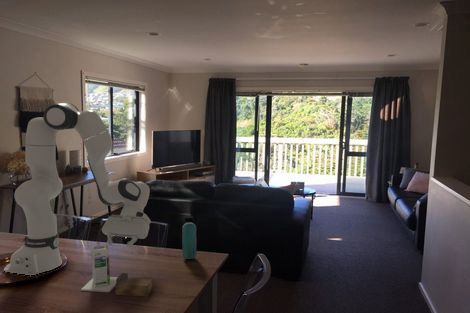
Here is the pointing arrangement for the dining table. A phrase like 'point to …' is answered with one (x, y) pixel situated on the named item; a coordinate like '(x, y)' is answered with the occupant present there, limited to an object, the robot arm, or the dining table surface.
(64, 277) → the dining table surface
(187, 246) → the beverage bottle
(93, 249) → the syrup box
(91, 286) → the felt pad
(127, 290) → the brown wooden block
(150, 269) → the dining table surface
